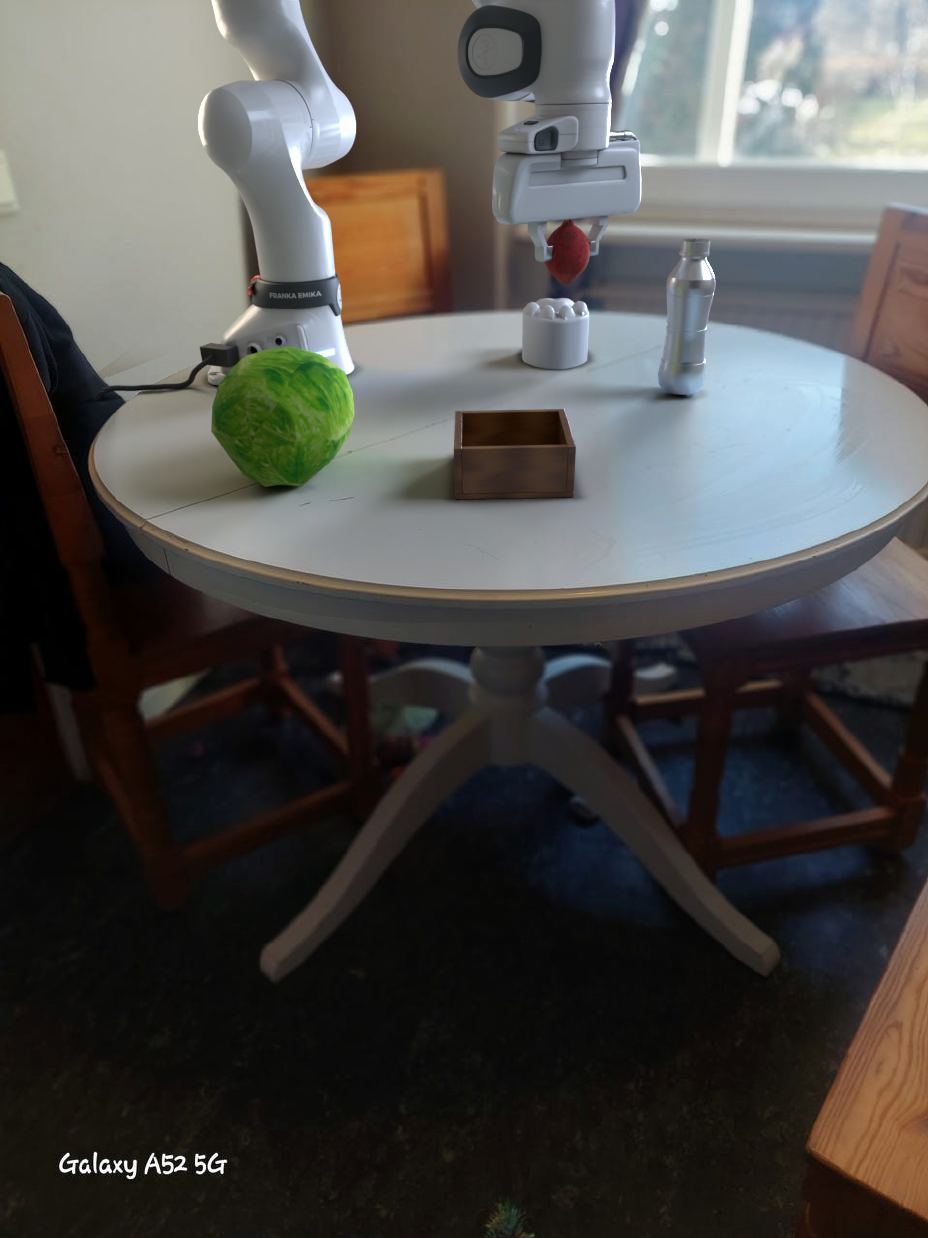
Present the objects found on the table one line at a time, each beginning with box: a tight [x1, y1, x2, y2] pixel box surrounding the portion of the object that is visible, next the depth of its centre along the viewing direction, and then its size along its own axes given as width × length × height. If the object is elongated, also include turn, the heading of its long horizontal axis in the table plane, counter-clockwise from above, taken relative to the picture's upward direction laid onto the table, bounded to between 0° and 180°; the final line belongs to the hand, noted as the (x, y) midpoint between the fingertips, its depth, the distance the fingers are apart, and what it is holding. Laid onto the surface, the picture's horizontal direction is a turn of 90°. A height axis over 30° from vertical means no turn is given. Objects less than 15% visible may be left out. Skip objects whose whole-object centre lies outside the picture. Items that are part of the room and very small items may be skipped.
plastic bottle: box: [657, 237, 717, 396], centre depth 118 cm, size 6×7×20 cm
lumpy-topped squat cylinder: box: [521, 297, 590, 370], centre depth 138 cm, size 10×13×9 cm
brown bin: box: [453, 408, 577, 500], centre depth 96 cm, size 13×13×6 cm
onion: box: [544, 219, 591, 286], centre depth 109 cm, size 6×6×8 cm
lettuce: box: [210, 347, 356, 488], centre depth 99 cm, size 15×22×15 cm
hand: (566, 258), depth 110 cm, fingers closed on onion, 6 cm apart
